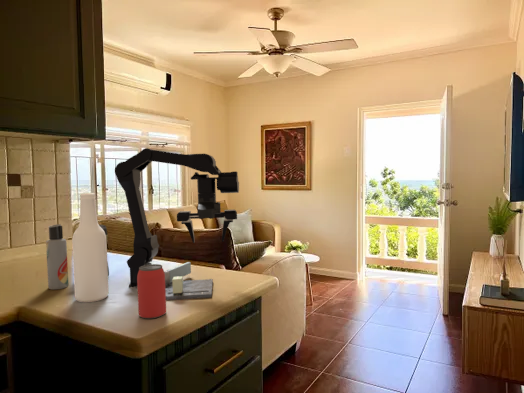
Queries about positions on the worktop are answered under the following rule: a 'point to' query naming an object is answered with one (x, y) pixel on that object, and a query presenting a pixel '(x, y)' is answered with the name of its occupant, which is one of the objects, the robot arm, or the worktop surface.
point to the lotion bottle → (57, 258)
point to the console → (191, 290)
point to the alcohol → (89, 254)
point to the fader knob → (177, 284)
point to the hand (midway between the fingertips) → (208, 242)
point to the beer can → (151, 291)
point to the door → (177, 272)
